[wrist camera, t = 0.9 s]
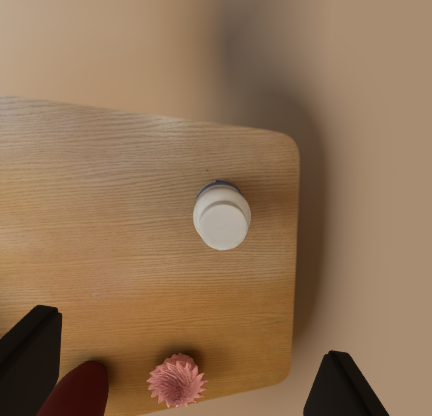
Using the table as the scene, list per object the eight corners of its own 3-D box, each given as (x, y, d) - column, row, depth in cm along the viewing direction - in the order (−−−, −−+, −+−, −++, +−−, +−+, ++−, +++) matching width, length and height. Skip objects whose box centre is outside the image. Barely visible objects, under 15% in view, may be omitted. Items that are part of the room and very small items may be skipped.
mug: (119, 408, 37) (88, 500, 28) (65, 403, 37) (13, 496, 27) (122, 351, 35) (89, 432, 25) (63, 345, 34) (6, 426, 25)
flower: (218, 369, 36) (220, 409, 31) (171, 391, 37) (164, 433, 31) (190, 329, 34) (186, 364, 29) (141, 353, 35) (129, 392, 30)
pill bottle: (239, 223, 30) (252, 260, 21) (195, 220, 30) (188, 256, 21) (244, 180, 29) (261, 198, 19) (198, 175, 29) (192, 192, 19)
